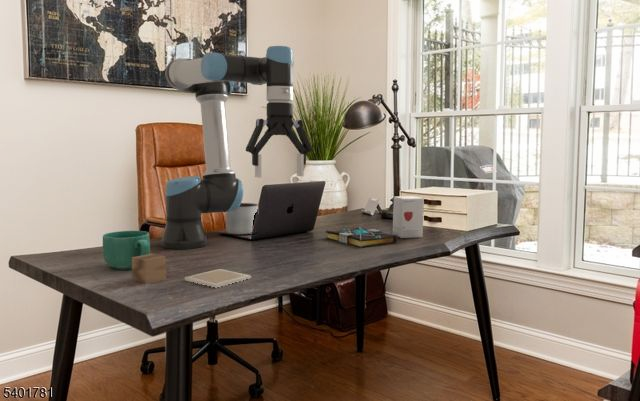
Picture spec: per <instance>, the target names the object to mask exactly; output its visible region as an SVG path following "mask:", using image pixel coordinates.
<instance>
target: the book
mask: <svg viewBox="0 0 640 401" xmlns="http://www.w3.org/2000/svg"><path fill="white" fill-rule="evenodd" d="M325 233H326V234H327V236H326V237H325V239H326V240H331V241H336V242H339V243H343V244H346V245H352V246H353V247H354V246H355V247H357V248H360V249H362V248H367V247H371V246H372V247H373V246H379V245H388V244H398V243H399V242H398V241H399V239H398V238H399V237H398V234H393V233H385V232H382V230H379V229H374V228H371V229H367V228H363V227H361V226H359V227H355V228H349V229H346V228H345V227H344V226H343V227H342V229H339V230H327V229H326V230H325ZM396 235H397V236H396Z"/></svg>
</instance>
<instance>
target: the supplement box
mask: <svg viewBox="0 0 640 401" xmlns="http://www.w3.org/2000/svg"><path fill="white" fill-rule="evenodd" d="M424 202H425V200H424V198H423V197H419V196H416V195H415V196H414V195H411V196H410V195H405V196H403V195H401V196H398V195H397V196H393V210H392V212H393V213H392V234H398V238H400V239H410V238H411V239H412V238H423V236H424V235H423V230H424V229H423V228H424V204H425V203H424ZM396 236H397V235H396Z"/></svg>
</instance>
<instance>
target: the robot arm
mask: <svg viewBox="0 0 640 401" xmlns="http://www.w3.org/2000/svg"><path fill="white" fill-rule="evenodd" d="M164 74H165V79H166V81H167V84H169V86H170V87H172V88H173V89H175V90H177V91H179V92H182V93H189V94H194V95H195V101H197V102H198V103H199V104H200V114H201V123H202V124H201V126H202V135H203V136H202V138H203V149H204V157H205V158H204V160H205V161H204V162H205V172H204V173H203V174H202V176H201V177H202V178H201V177H200V176H199V175H192V176H183V177H182V176H181V177H176V178H172V179H170V180H168V181H166V183H165V191H164V192H165V193H164V196H165V216H166V217H165V218H166V219H165V223H166V224H165V227H164V230H163V235H162V237H161V247H162V248H165V249H173V250H174V249H175V250H187V249H196V248H202V247H204V246H207V244H208V243H207V242H208V240H207V239H208V238H207V235H206V233H205V228H204V226H203V224H202V214H213V213H226V212H227V211H234V210H236V209H237V208H238V207H239V206H240V204H241V203H243V202H242V201H243V198H244V185H243V182H242V180H240V179H239V178H237V177H236V172H235V171H234V170H233V169H232V168H231V160H230V148H229V147H230V146H229V136H228V125H227V124H228V122H227V114H226V113H227V112H226V102H227V101H228V100H229V98H230V96H229V95H231V94H232V93H233V90H234V84H235V83H243V84H244V83H245V84H246V83H247V84H251V85H255V86H257V85H258V86H262V85H266V101H267V103H266V119H263V118H257V119H256V121H255V127H254V128H253V129H254V130H253V132H252V134H251V137H250V138H249V140H248V143H247V145H246V148H245V151H246V152H247V153H250V154H251V158H252V160H251V165H252V166H254V178H259V179H261V178H262V153H261V154H259V153H260V152H261V151H262V150H263V148H264V147H265V145H266V144H267V143H268V142H269V140H270V139H271V138H272V137H273V136H286V137H287V138H288V139H289V141H290V142H291V144H293V145H294V147H295V149H297V151H298V153H296V176H297V177H304V176H305V175H304V173H305V172H304V170H305V168H304V166H305V165H306V163H307V154H308V153H309V152H312V151H313V148H312V145H311V143H310V141H309V138H308V135H307V134H306V131H305V128H304V124H303V123H304V122H303V120H302V119H296V120H293V116H294V105H293V103H292V102H293V101H294V51H293V49H292V48H291V47H290V46H287V45H286V46H285V45H271V46H268V47H267V49H266V53H265V56H264V57H256V56H247V55H246V56H244V55H236V54H235V55H233V54H226V53H220V52H205V53H204V55H203V56H202V57H200V58H176V59H173V60H171V61H170V62H169V63H168V64H167V66H166V68H165V72H164ZM265 126H266V127H267V129H266V130H265V132H264V133H263V135H262V137H261V138H260V136H261V133H262V132H263V128H265ZM293 127H294V128H295V131H296V133H297V135H298V136H297V135H296V133H295V132H294V130H293ZM259 138H260V139H259Z"/></svg>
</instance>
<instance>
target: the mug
mask: <svg viewBox="0 0 640 401" xmlns="http://www.w3.org/2000/svg"><path fill="white" fill-rule="evenodd" d="M102 253H103V260H104V262H105V263H106V264H107V265H109V266H110V267H113V268H114V269H116V270H132V257H136V256H142V255H147V254H151V240H150V233H149V232H148V231H146V230H145V231H144V230H121V231H113V232H107V233H104V234H103V235H102Z"/></svg>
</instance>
